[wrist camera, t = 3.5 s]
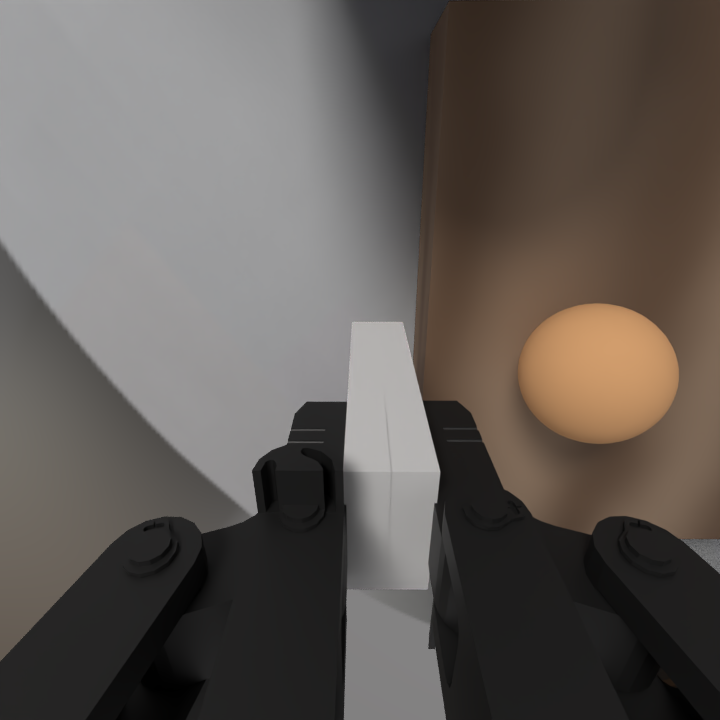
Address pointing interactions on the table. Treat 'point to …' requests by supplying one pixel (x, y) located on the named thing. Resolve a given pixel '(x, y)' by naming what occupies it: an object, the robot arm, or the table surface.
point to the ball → (598, 373)
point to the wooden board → (575, 235)
